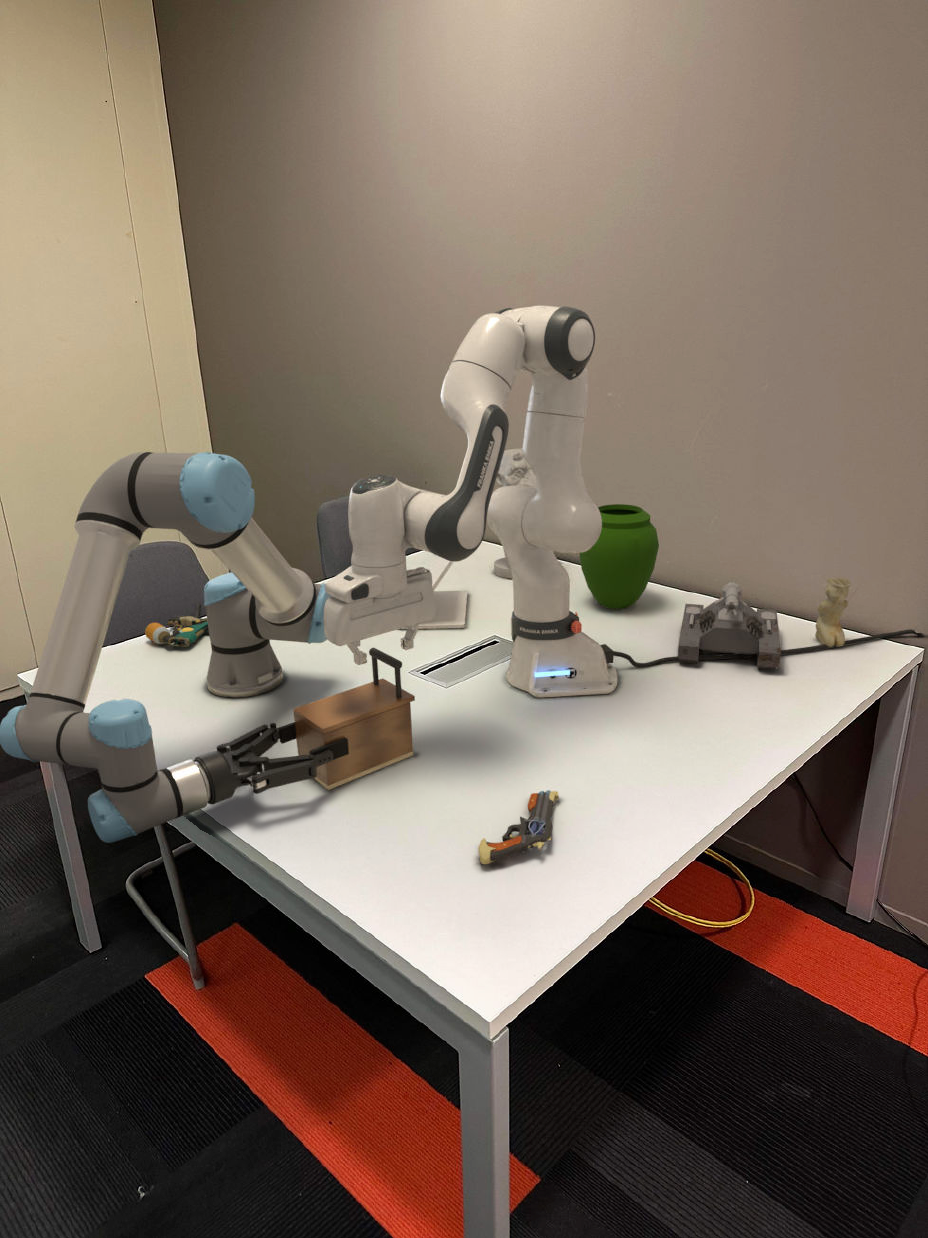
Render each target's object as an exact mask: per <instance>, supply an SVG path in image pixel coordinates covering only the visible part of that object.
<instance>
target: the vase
mask: <svg viewBox="0 0 928 1238" xmlns="http://www.w3.org/2000/svg"><path fill="white" fill-rule="evenodd" d="M597 507H598V509H599V511H600V514H601V518H602V529H601V533H600V536H599V538H598V540H597V542H596V543H595V544H594V546H593V547H592V548H590V549H589V550H588V551H586V552H582V553H578V554H579V562H580V569H581V571H582V574H583V577H584V580H585V583H586V585H587V588H588V590H589V591H590V594H592V597H593V598H594V600H595V601H596V602H597V603H598V604H599V605H600V606H602V607H604V608H606V609H609V610H625V609H628V608H630V607H632V606H634V604H636V602H638V601H639V599H640V597H641V596H642V595H643V593H644V592H645V590H646V588H647V586H648V584H649V581H650V579H651V577H652V574H653V572H654V570H655V566H656V562H657V557H658V552H659V548H660V544H659V543H660V542H659V537H658V531H657V528H656V527H655V526H654V524H653V523H652V522H651V515H650V514H649V512H647V511H645V510H644V509H643V508H642V507H641V506H638V505H633V504H622V503H621V504H619V503H616V504H615V503H614V504H604V505H601V506H597Z"/></svg>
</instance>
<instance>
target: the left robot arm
mask: <svg viewBox="0 0 928 1238" xmlns="http://www.w3.org/2000/svg"><path fill="white" fill-rule="evenodd" d="M252 484H253V481H252V478H251V476H250V473H249V472H248V470H247V469H246V467H245V466H244V465H243V464H242V462H240V461H239V460H238V459H236V458H234V457H233V456H230V455H228V454H220V453H214V452H210V451H204V452H151V451H140V452H139V451H138V452H134V453H130V454H128V455H125V456H123V457H121V458H120V459H118V460H116V461H115V462H113V463H112V464H110V466H109V467H107V468H106V469H105V470H104V471H103V472H102V473H101V474H100V476H99V477H97V479H96V480H95V482H94V483H93V485H91V487H90V489H89V490H88V492H87V494H86V495H85V497H84V499H83V501H82V502H81V505H80V507H79V510H78V513H77V515H76V516H77V517H76V520H75V523H74V526H73V527H74V530H75V531H76V533H77V535H78V537H77V541H76V544H75V547H74V551H73V554H72V556H71V560H70V564H69V567H68V570H67V573H66V577H65V580H64V582H63V583H64V584H63V587H62V589H61V590H62V591H61V593H60V596H59V599H58V603H57V606H56V609H55V612H54V615H53V619H52V623H51V625H50V628H49V632H48V635H47V637H46V642H45V645H44V648H43V651H42V654H41V657H40V661H39V664H38V667H37V671H36V673H35V676H34V681H33V683H32V687H31V689H30V693H29V696H28V699H27V702H26V704H24V705H19V706H15V707H13V708H11V709H10V710H9V711H8V712H7V714H6V716H5V717H3V718H2V719H1V722H0V746H1V748H2V750H3V751H4V753H6V754H8V755H10V756H11V757H13V758H17V759H23V760H28V761H30V762H33V763H40V762H41V763H42V762H43V763H50V764H57V765H67V766H73V767H79V768H80V767H81V768H87V769H95V770H98V774H99V778H100V782H101V789H98V790H97V791H95V792H93V793H91V794H90V795H89V796H88V797H87V798H88V799H87V810H88V814H89V818H90V821H91V824H92V826H93V828H94V829H93V830H94V832H95V833H96V835H97V836H98V837H99V839H100V840H101V841H102V842H104V843H107V844H112V843H115V842H118V841H121V840H125V839H127V838H131V837H136V836H138V835H139V834H142V833H143V832H145V831H148V830H150V829H153V828H155V827H158V826H160V825H163V824H165V823H168V822H171V821H172V820H176V819H178V818H181V817H183V816H187V815H189V814H191V813H194V812H196V811H199V810H202V809H204V808H206V807H207V806H208V805H211V806H213V805H215V804H218V803H221V802H223V801H225V800H229V799H230V798H232V797H233V796H234V795H235V792H236V789H238V788H240V787H246V786H250V787H252V792H253V794H255V795H256V794H261V793H263V792H266V791H267V790H269V789H274V788H277V787H281V786H287V785H290V784H294V783H299V782H302V781H308V780H310V779H314V778H315V777H317V769H316V768H317V767H318V766H321V765H323V764H326V763H328V762H331V761H332V760H335V759H337V758H340V757H343V756H345V755H348V754H349V749H348V739H347V738H343V739H340V740H337V741H335V742H332V743H329V744H327V745H324V746H321V747H318V748H316V749H313V750H310V751H309V752H310V754H309V755H300V756H298V755H292V756H282V757H273V758H269V757H268V756H263V755H264V754H265V753H266V752H267V751H269V750H270V749H271V748H272V747H274V746H275V745H276V744H278V742H279V743H280V744H282V745H283V744H285V743H288V742H291V741H293V740H296V730H295V721H293V722H290V723H287V724H284V725H282V726H279V727H277V726H278V725H277V722H270V723H269V725H268V724H265V723H264V724H262V725H260V726H258V727H256V728H254V729H252V730H250V731H248V732H245V733H244V734H242V735H240V736H238V737H236V738H234V739H233V740H230V741H228V742H225V743H222V744H218V745H217V746H216V750H213V751H209V752H207V753H204V754H201V755H198V756H196V757H195V758H194V759H193V760H192V759H190V758H189V759H186V760H184V761H181V762H178V763H176V764H172V765H169V766H168V767H165V768H162V769H158V764H157V757H156V752H155V745H154V740H153V729H152V726H151V724H150V721H149V716H148V713H147V709H146V707H145V705H144V704H143V703H142V702H141V701H139V700H136V699H131V698H122V699H112V700H108V701H104V702H102V703H100V704H98V705H97V706H95V707H93V708H92V709H91V711H90V712H85V708H86V704H87V701H88V697H89V694H90V690H91V687H92V684H93V680H94V677H95V674H96V669H97V666H98V664H99V663H98V662H99V659H100V656H101V653H102V649H103V647H104V643H105V639H106V636H107V632H108V629H109V626H110V623H111V622H110V621H111V618H112V614H113V611H114V608H115V605H116V601H117V598H118V596H119V595H118V594H119V591H120V588H121V585H122V581H123V578H124V574H125V570H126V567H127V564H128V561H129V557H130V553H131V551H132V550H134V549H136V548H138V547H139V546H140V545H141V540H142V537H143V535H144V533H145V532H146V531H147V530H148V529H161V530H176V531H178V532H180V533H181V534H182V535H183V537H185V539H187V540H188V542H190V543H191V544H192V545H193V546H195V547H196V548H198V549H201V550H204V551H205V550H207V551H211V552H212V553H213V554H214V555H215V556H216V557H217V558H218V560H220V562H222V564H223V565H224V566H225V567H226V568H227V569H228V570H229V571H230V572H228V573H224V574H221V575H219V576H215V577H214V578H212V579H210V580H208V581H207V583H205V585H204V587H203V597H204V598H203V600H204V601H203V602H204V603H203V606H204V608H205V614H206V618H207V622H208V628H209V631H208V630H206V632H205V633H204V634H207V635H209V641H210V646H211V647H210V648H211V655H210V658H209V659H210V660H209V664H208V669H207V673H206V678H205V679H206V685H207V690H208V691H209V692H210V693H212V694H213V695H216V696H219V697H224V698H246V697H253V696H257V695H261V694H264V693H266V692H269V691H271V690H273V689H275V688H276V687H278V686H279V685H280V684H282V682H283V679H284V674H283V668H282V665H281V663H280V662H279V659H278V657H277V655H276V653H275V651H274V649H273V646H272V645H271V641H281V642H282V641H284V642H292V643H293V642H294V643H296V642H297V643H307V644H308V645H310V644H322V643H325V642H326V641H327V640H328V639H327V638H326V637H325V632H324V606H325V602H326V600H327V599H328V598H329V597H330V595H329V594H327V593H326V591H325V584H326V583H324V582H323V583H316V582H314V581H313V580H312V578H311V577H310V576H309V575H308V574H307V573H306V572H304V571H303V570H301V569H299V568H295V567H292V566H291V565H290V563H289V562H288V561H287V560H286V559H285V557H284V556H283V555H282V554H281V552H280V551H279V550H278V548H277V547H276V546H275V545H274V543H273V542H272V541H271V540H270V538H269V537H268V536H267V535H266V534H265V532H264V531H263V530H262V528H261V527H260V526H259V525H258V524H257V522H256V520H254V518H253V514H254V510H255V505H256V504H255V502H256V495H255V489H254V488H252ZM195 609H196V610H195V615H194V616H195V617H198V618H200V610H201V602H197V603H196V607H195ZM305 761H306V762H305Z"/></svg>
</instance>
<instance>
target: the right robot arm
mask: <svg viewBox="0 0 928 1238" xmlns="http://www.w3.org/2000/svg"><path fill="white" fill-rule="evenodd" d="M595 343H596V331H595V327H594V325H593V322H592V320H591V318H590V316H589V314H587V313H586V312H585V311H583V310H581V309H578V308H576V307H571V306H567V305H565V306H562V307H560V306H552V305H533V306H526V307H518V308H517V307H516V308H512V307H507V308H502V309H500V310H497V311H494V312H492V313H491V312H490V313H486V314H483V315H482V316H480V317H479V318H477V319H476V321H475V322H474V324H472V326H471V327H470V329H469V330H468V332H467V334H466V335H465V336H464V338H463V340H462V341H461V343H460V345H459V346H458V349H457V350H456V352H455V354H454V357H453V359H452V361H451V363H450V365H449V367H448V369H447V372H446V374H445V376H444V379H443V381H442V385H441V390H440V395H439V397H440V403H441V406H442V408H443V410H444V412H445V414H446V416H447V417H448V419H449V420H450V421H451V422H452V423H453V424H454V425H456V426H457V427H458V428H459V429H460V430H462V432H464V433H465V434H466V435H465V436H466V437H467V449H466V453H465V456H464V459H463V462H462V466H461V469H460V473H459V476H458V479H457V482H456V486H455V488H454V489H453V490H452V491H451V492H450V493H449V494H442V493H437V492H433V491H430V490H426V489H421V488H417V487H413V486H410V485H408V484H406V483H403V482H402V481H400V480H398V478H397V476H396V477H395V476H394V475H391V474H376V475H369V476H366V477H364V478H360V479H359V480H358V481H356V482H355V483H354V484H353V485H352V487H351V489H350V492H349V496H348V512H347V514H348V515H347V516H348V517H347V518H348V519H347V520H348V534H349V535H348V536H349V538H350V541H351V544H352V552H351V553H352V554H351V558H350V561H351V562H350V563H351V565H350V566H349V567H347V568H346V569H345V570H343V571H341V572H340V573H338V574H337V575H335V576H334V577H331V578H330V579H328V580H327V581H326V582H325V583H324V584H325V591H326V593H327V594H329V595H330V597H329V598H328V599H327V600H326V602H325V606H324V632H325V637H326V638H327V640H328V642H330V643H331V644H333V645H335V646H338V647H343V646H347V648H348V649H349V650H350V651H351V653H352V654H353V662H354V664H356V665H357V666H361V665H364V664H367V663H368V658H367V657H368V653H366V652H364V651H362V650H361V649H359V647H361V641H362V640H367V639H369V638H373V637H377V636H380V635H383V634H386V633H387V634H388V633H390V632H394V631H396V630H400V629H403V628H404V627H406V628H407V629H406V631H405V634H404V636H403V637H401V638H400V648H401V649H402V650H404V651H408V650H409V651H410V650H412V649H414V648H415V647H414V646H415V645H414V643H415V642H414V640H415V637H416V636H417V634H418V631H419V630H420V629H419V626H418V623H421V622H424V621H428V620H431V619H433V617H434V616H435V614H436V604H435V597H434V592H433V587H432V574H431V572H430V571H429V570H430V569H428V568H425V567H424V566H419V567H416V568H412V569H407V556H406V551H407V550H408V549H411V548H414V549H415V550H419V551H423V552H426V553H430V554H433V555H434V556H437V557H438V556H439V557H441V558H444V559H446V560H448V561H452V562H453V563H454V562H457V563H458V562H461V561H463V560H466V559H467V558H469V557H470V556H471V555H473V554H474V553H475V552H476V551H477V550H478V549H479V547H480V546H481V544H482V542H483V540H484V538H485V534H486V528H487V525H488V527H489V529H491V531H492V532H493V533H494V534H495V536H496V537H497V538H498V540H499V542H500V544H501V546H502V548H504V549H503V552H504V551H505V553H506V556H507V559H508V562H509V565H510V569H511V573H512V578H511V579H512V592H513V593H512V594H513V596H512V597H513V611H512V612H511V618H510V635H511V640H512V645H511V646H512V647H511V655H510V660H509V665H508V669H507V672H506V675H505V678H506V681H507V683H509V684H510V685H511V686H513V687H515V688H517V689H519V690H522V691H525V692H527V693H529V694H530V695H531V696H533V697H535V698H556V697H572V696H573V697H574V696H588V695H589V696H590V695H591V696H592V695H607V694H611V693H612V692H613V691H615V690H616V688H617V686H618V673H617V670H616V668H615V667H614V666H613V665H612V664H613V663H614V657H619V658H622V659H625V660H627V661H628V662H629V663H630V665H631V666H633V667H635V668H639V669H640V668H642V669H643V668H649V667H654V666H657V665H659V664H663V663H670V662H679V657H678V655H677V656H676V655H675V656H666V657H662V658H657V659H655V660H651V661H649V662H648V661H647V662H637V661H635V660H634V659H633V657H632V656H631V655H629V654H627V653H625V652H621V651H617V650H613V649H612V648H611V647H609V646H608V645H607V644H606V643H602V644H600V643H599V642H598V641H596V640H595V639H593V638H591V637H590V636H589V635H587V634H586V633H585V632H583V631H582V630H583V626H582V625H583V624H582V622H581V621H580V616H579V615H578V612H577V611H575V613H574V612H573V611H571V610H570V590H571V589H570V586H571V585H570V584H571V579H570V576H569V572H568V571H567V570H566V568H565V567H564V566H563V565H562V564H561V562H560V561H559V560H558V558H557V556H556V555H555V552H557V553H561V554H579V553H582V552H586V551H588V550H589V549H590V548H592V547H593V546H594V544H595V543H596V542H597V540H598V538H599V536H600V533H601V529H602V518H601V514H600V511H599V509H598V507H599V506H597V505H596V504H595V502H594V501H593V499H592V497H591V495H589V492H588V489H587V487H586V484H585V479H584V475H583V468H582V467H583V466H582V453H583V444H584V443H583V442H584V436H585V435H584V433H585V426H586V418H587V411H588V401H589V375H588V367H587V366H588V365H587V364H588V363H589V362H590V361H591V360H590V359H591V357H592V355H593V352H594V349H595ZM519 372H526V373H530V376H531V380H532V383H531V387H530V390H529V391H530V392H529V396H528V401H527V408H526V415H525V422H524V430H523V439H522V445H521V448H522V453H523V456H524V458H525V460H526V461H527V462H528V463H529V464H530V465H531V467H532V468H533V471H534V473H535V477H536V482H537V488H535V487H529V486H524V485H514V486H505V487H502V486H499V487H498V488H497V489H494V488H495V485H496V483H497V482H496V478H497V475H498V471H499V468H500V464H501V461H502V457H503V454H504V451H506V450H505V449H506V445H507V443H508V442H507V441H508V437H509V431H510V422H509V417H508V415H507V413H506V408H507V403H508V400H509V397H510V394H511V393H512V390H513V388H514V384H515V382H516V379H517V377H518V373H519ZM505 553H504V554H505ZM912 629H913V628H911V629H909V628H908V629H903V630H899V631H891V632H884V633H883V632H882V633H878V634H873V635H869V636H864V637H859V638H853V639H846V640H845V643H844V645H842V646H841V647H843V646H844V647H845V646H849V645H854V644H859V643H860V644H861V643H864V642H865V643H866V642H870V641H874V640H880V639H885V638H893V637H898V636H903V635H910V634H911V635H916V636H917V637H918V638H926V636H925V635H924V633H922V632H921V633H916V632H915V631H914V630H915V629H913V630H912ZM832 648H837V646H836V645H835V644H834V646H832V647H829V646H827V645H826V644H824V645H823V644H818V645H812V646H805V647H804V646H803V647H797V648H789V649H781V655H790V654H791V655H792V654H799V653H807V652H813V651H819V650H820V651H821V650H826V649H832ZM745 658H757V654H751V655H749V654H737V653H725V654H704V655H698V661H713V660H729V659H731V660H732V659H745Z"/></svg>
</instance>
